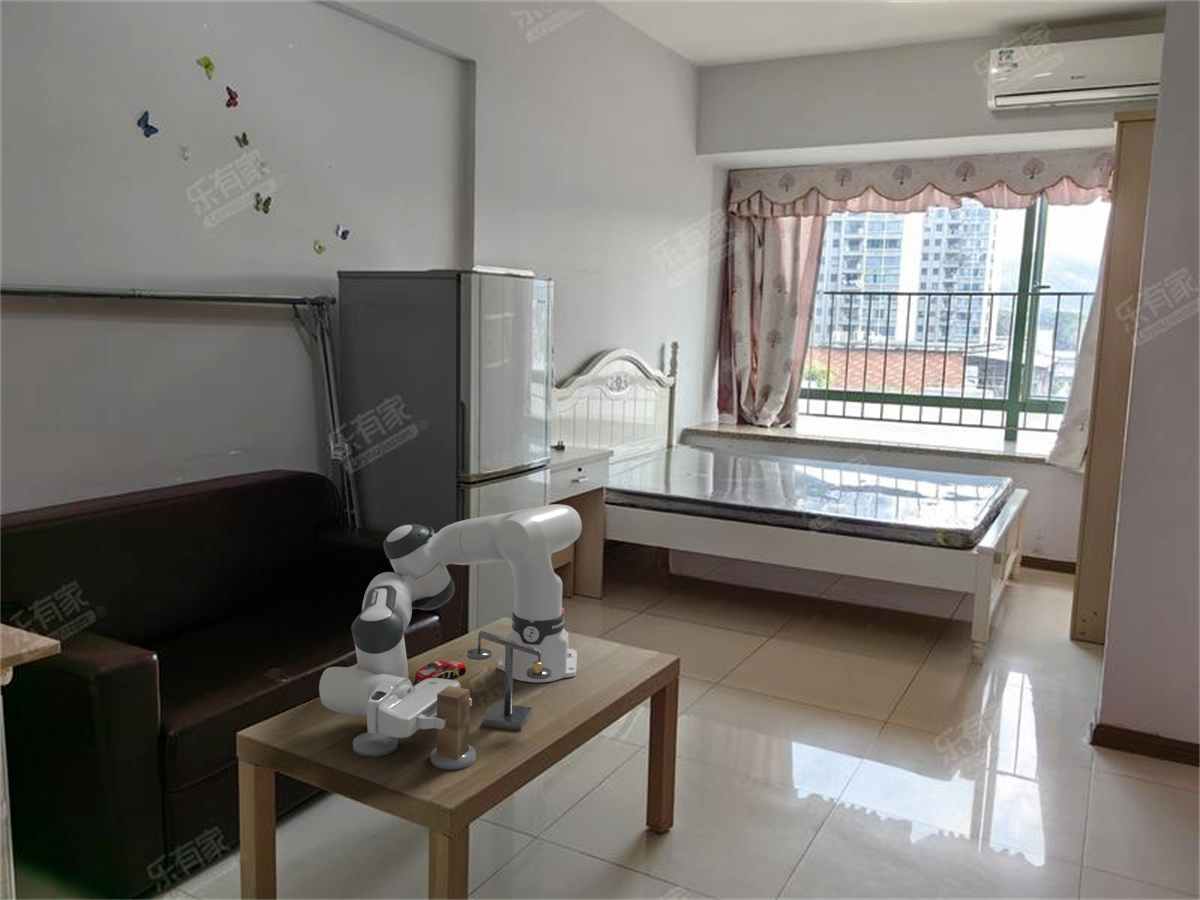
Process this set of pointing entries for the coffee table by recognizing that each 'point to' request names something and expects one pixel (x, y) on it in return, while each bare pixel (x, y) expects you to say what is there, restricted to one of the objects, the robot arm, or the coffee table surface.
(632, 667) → the coffee table surface
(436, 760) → the grey flat pebble
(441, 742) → the pillar
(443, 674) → the race car
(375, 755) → the grey oval dome
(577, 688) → the coffee table surface
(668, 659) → the coffee table surface
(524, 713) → the balance
